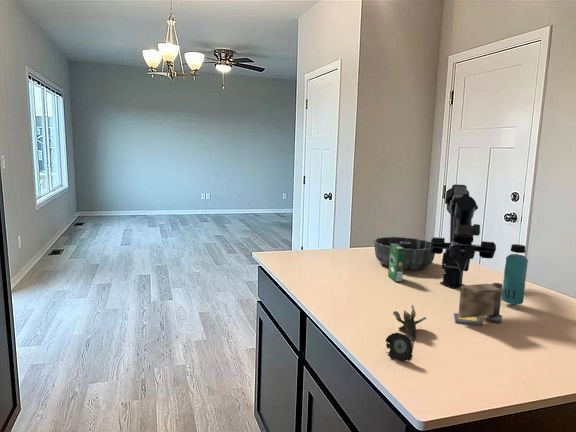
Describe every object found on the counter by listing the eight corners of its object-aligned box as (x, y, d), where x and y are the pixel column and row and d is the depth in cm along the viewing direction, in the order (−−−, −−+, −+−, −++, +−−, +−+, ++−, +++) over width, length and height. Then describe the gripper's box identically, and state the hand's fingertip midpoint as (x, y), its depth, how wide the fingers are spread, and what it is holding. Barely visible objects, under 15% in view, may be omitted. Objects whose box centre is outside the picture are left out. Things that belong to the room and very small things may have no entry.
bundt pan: (386, 254, 204) (388, 233, 203) (443, 264, 189) (445, 241, 187) (361, 265, 183) (363, 242, 181) (423, 277, 168) (425, 252, 166)
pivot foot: (492, 317, 129) (493, 311, 129) (504, 321, 126) (505, 316, 126) (483, 319, 128) (483, 313, 127) (495, 324, 124) (496, 318, 124)
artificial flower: (377, 362, 103) (370, 319, 104) (404, 339, 122) (398, 303, 123) (414, 362, 98) (407, 317, 99) (436, 338, 118) (430, 301, 119)
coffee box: (402, 282, 161) (405, 248, 159) (395, 282, 160) (397, 248, 158) (394, 276, 169) (397, 243, 167) (387, 276, 168) (389, 243, 166)
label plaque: (479, 318, 128) (479, 315, 128) (481, 326, 122) (482, 323, 122) (453, 315, 130) (454, 312, 130) (455, 322, 124) (455, 320, 124)
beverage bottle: (521, 303, 142) (528, 243, 139) (524, 310, 136) (532, 248, 132) (499, 300, 144) (505, 241, 141) (501, 307, 138) (508, 245, 134)
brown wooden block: (495, 312, 128) (498, 280, 126) (512, 321, 121) (516, 288, 120) (456, 315, 124) (459, 283, 123) (473, 325, 118) (476, 291, 116)
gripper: (433, 212, 137) (431, 254, 128) (498, 216, 132) (500, 260, 123) (431, 232, 146) (429, 272, 137) (491, 237, 140) (493, 279, 132)
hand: (461, 271), depth 132 cm, fingers closed
